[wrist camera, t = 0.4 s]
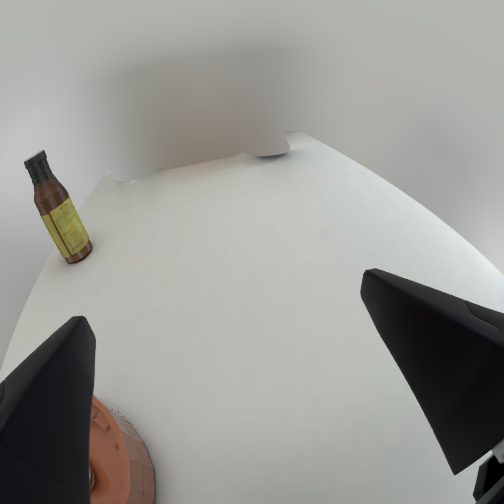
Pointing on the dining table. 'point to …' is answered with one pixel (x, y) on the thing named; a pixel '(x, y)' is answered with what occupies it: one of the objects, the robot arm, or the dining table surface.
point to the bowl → (118, 460)
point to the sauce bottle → (57, 210)
